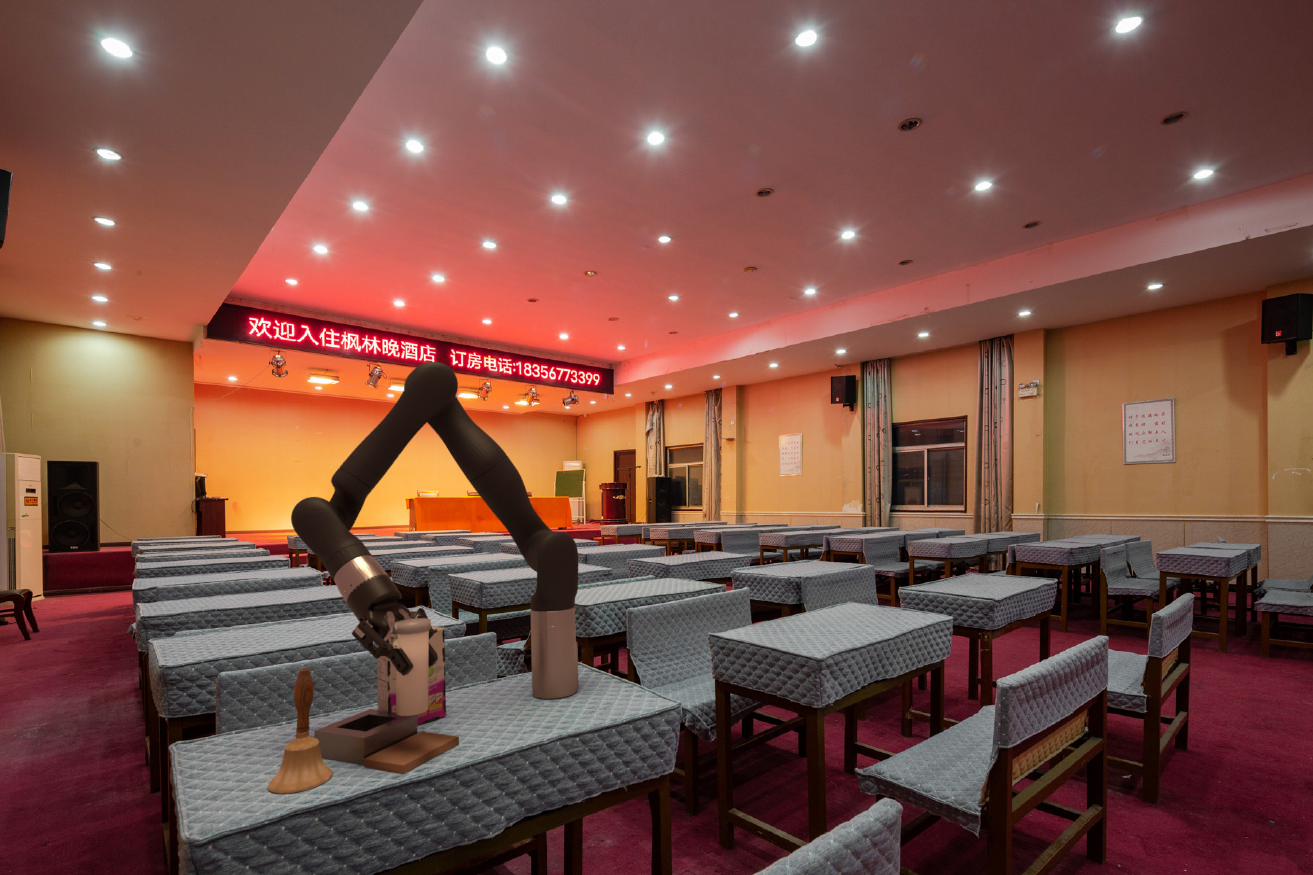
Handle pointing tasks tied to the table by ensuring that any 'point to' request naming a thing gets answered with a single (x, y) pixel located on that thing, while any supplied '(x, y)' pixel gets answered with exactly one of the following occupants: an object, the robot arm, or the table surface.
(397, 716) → the housing
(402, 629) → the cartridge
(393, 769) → the board
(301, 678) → the hand bell
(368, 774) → the table surface
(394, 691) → the candy bar box
